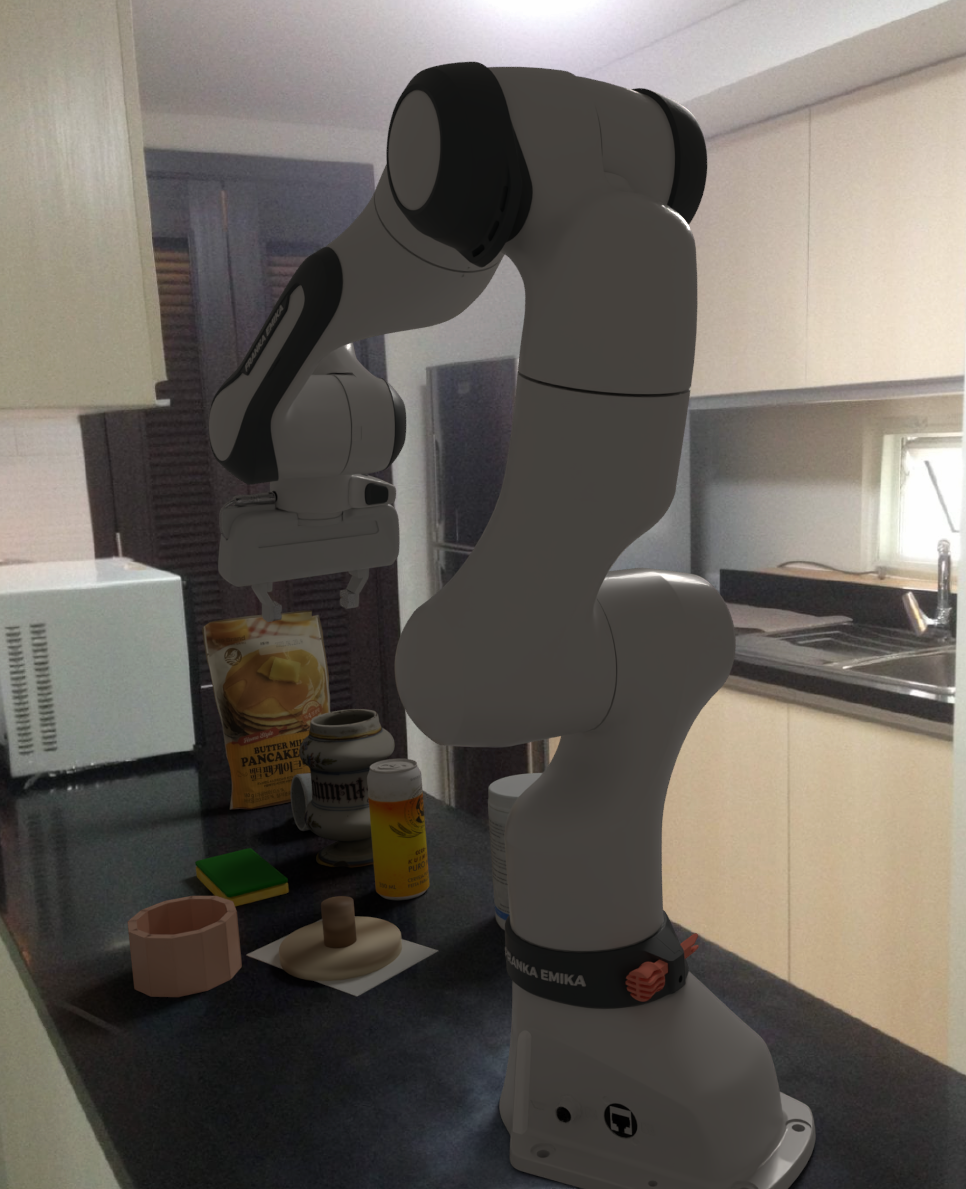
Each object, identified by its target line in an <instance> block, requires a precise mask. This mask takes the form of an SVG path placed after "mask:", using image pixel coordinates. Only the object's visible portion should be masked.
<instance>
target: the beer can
mask: <svg viewBox="0 0 966 1189" xmlns="http://www.w3.org/2000/svg"><path fill="white" fill-rule="evenodd" d="M422 778H423V777H422V771H421V769H420V767H419V766H418V762H417V761H416V760H414V759H409V758H389V759H387V760H383V761H379V762H376V763H374V764H372V765H371V766H370V770H369V773H368V775H367V785H368V798H369V810H370V823H371V836H372V848H373V861H374V864H373V872H374V881H375V882H374V884H375V886H374V887H375V892H376V893H377V894H378V895H379V896H381V897H382V898H384V899H386V900H390V901H405V900H406V901H407V900H412V899H415V898H418V897H420V896H422V895H423V894H424V893H425V892H426V891H427V890H428V888H429V887H430V873H429V860H428V859H429V858H428V845H427V833H426V820H425V819H426V818H425V804H424V803H425V802H424V791H423V779H422Z"/></svg>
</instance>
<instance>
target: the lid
mask: <svg viewBox="0 0 966 1189" xmlns="http://www.w3.org/2000/svg"><path fill="white" fill-rule="evenodd" d="M354 901H355V900H354V899H353V897H350V896H345V895H338V896H332V897H328V898H326V899H324V900H323V901H321V903H320V908H321V909H320V911H321V919H322V921H319V920H318V921H319V922H317V921H315V922H316V923H315V922H313V923H310V924H308V925H305V926H303V927H300V928H298V929H296V930H294V931H293V932H291V933H290V935H289V934H287V935H288V936H287V935H286V936H287V937H286V938H285V939H284V940H283V941H282V943H281V944H280V947H279V956H280V964H281V967H282V968H283V969H282V970H283V971H284V972H286V973H287V974H288V975H290V976H292V977H294V978H298V979H301V980H305V981H312V982H313V981H314V982H316V981H335V980H344V979H350V978H356V977H360V976H363V975H367V974H370V973H372V972H375V971H378V970H380V969H382V968H384V967H385V966H387V965H389V964H390V963H392V962H393V961H394V960H395V959H396V958H397V957H398V956H399V954H400V953H401V950H402V941H401V939H402V932H401V931H400V929H399V928H398V927H397V925H395V924H394V923H393V922H390V921H388V920H386V919H381V918H377V917H371V916H355V915H356V914H355V904H354Z"/></svg>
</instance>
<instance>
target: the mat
mask: <svg viewBox="0 0 966 1189" xmlns="http://www.w3.org/2000/svg"><path fill="white" fill-rule="evenodd" d="M319 921H322V918H321V919H319V920H317V921H315V922H314V923H316V922H319ZM290 934H291V933H290ZM290 934H287V935H284V936H283V937H281V938H279V939H277V940H275V941H273V942H270V943H269V944H266V945H264V946H262V947H260V948H257V949H255V950H254V951H251V952H249V953H247V954H246V955H245V956H246V957H249V958H251V959H254V960H258V961H259V962H262V963H266V964H268V965H270V966H273V967H276V968H279V969H281V970H283V968H282V967H281V964H280V956H279V947H280V944H281V943H282V941H283V940H284V939H285V938H286V937H287V936H288V935H290ZM401 941H402V950H401V953H400V954H399V956H398V957H397V958H396V959H395V960H394V961H393V962H392V963H390V964H389V965H387V966H385V967H384V968H382V969H380V970H378V971H375V972H372V973H370V974H367V975H363V976H360V977H356V978H350V979H344V980H335V981H315V982H316V983H319V984H321V985H325V986H326V987H330V988H332V989H335V990H338V991H340V992H343V993H345V994H347V995H351V996H354V997H360V996H361V995H363V994H365V993H366V992H369V991H370V990H372V989H373V988H376V987H378V986H380V985H381V984H382V983H384V982H386V981H388V980H390V979H391V978H393V977H396V976H397V975H399V974H401V973H402V972H404V971H406V970H408V969H409V968H411V967H413V966H415V965H416V964H418V963H420V962H423V961H424V960H426V959H427V958H429V957H431V956H432V955H435V954H436V953H439V949H436V948H435V949H434V948H431V947H428V946H425V945H422V944H420V943H419V944H418V943H415V942H413V941H409V940H406V939H403V938H401Z"/></svg>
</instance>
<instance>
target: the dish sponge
mask: <svg viewBox="0 0 966 1189" xmlns="http://www.w3.org/2000/svg"><path fill="white" fill-rule="evenodd" d="M194 863H195V864H194V865H195V874H196V878H197V879H198V880H199V881H200V883H202V884H203V885H204V886H205V887H206V888H207V889H208V890H209V891H210V892H211V893H212V895H213V896H218V897H221V898H224V899H227V900H231V901H233V903H234V906H235V907H238V906H243V905H247V904H251V903H254V902H258V901H262V900H266V899H269V898H273V897H277V896H280V895H285V894H287V893H289V892H290V889H289V883H288V881H289V878H288V877H287V876H285V875H284V874H283V873H281V871H279V870H278V869H276V868H275V867H274V866H273V865H272V864H271V863H269V862H268V861H267V860H266V859H265V858H263V857H262V856H261V855H260V854H259V853H257V852H256V851H255V850H254V849H252V848H250V847H248V848H244V849H240V850H236V851H233V852H232V851H231V852H228V853H224V854H218V855H216V856H211V857H208V858H202V859H198V860H196V861H195V862H194Z"/></svg>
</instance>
